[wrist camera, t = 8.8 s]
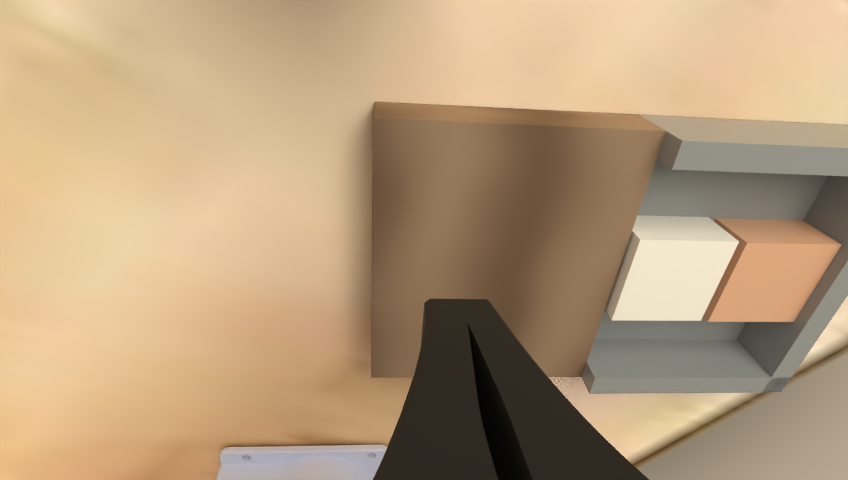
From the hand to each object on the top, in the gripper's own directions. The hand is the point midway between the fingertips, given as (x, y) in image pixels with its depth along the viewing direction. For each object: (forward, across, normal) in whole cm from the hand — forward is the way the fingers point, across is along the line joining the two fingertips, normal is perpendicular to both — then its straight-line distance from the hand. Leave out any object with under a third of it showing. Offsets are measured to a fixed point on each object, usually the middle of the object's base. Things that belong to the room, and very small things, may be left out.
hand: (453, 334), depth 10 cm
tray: (+9, -13, +4) cm, 16 cm away
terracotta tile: (+9, -14, +4) cm, 17 cm away
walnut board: (+9, -3, +4) cm, 10 cm away
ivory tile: (+9, -10, +4) cm, 14 cm away
